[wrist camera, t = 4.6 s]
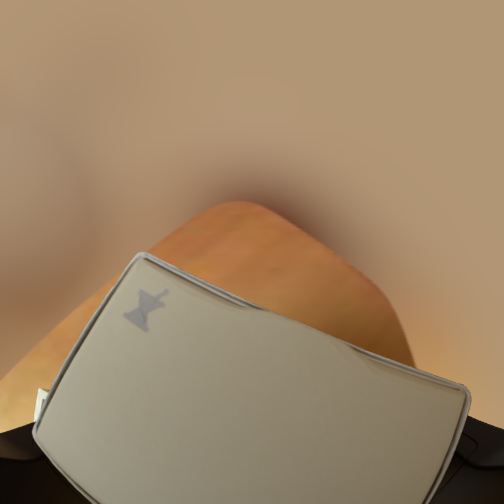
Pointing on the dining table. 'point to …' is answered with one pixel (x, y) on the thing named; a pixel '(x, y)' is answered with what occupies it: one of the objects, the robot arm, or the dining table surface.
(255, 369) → the skincare box
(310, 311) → the dining table surface
